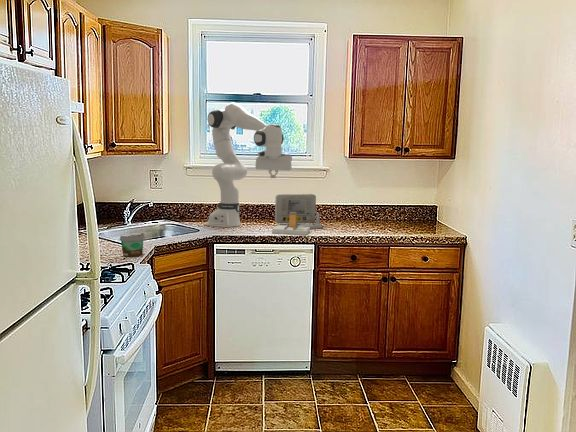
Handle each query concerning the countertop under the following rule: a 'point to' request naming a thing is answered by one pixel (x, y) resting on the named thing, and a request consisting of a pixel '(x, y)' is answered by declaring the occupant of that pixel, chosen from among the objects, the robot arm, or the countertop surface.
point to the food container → (132, 245)
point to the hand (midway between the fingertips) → (273, 178)
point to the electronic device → (314, 225)
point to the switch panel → (291, 230)
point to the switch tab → (292, 219)
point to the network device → (295, 208)
